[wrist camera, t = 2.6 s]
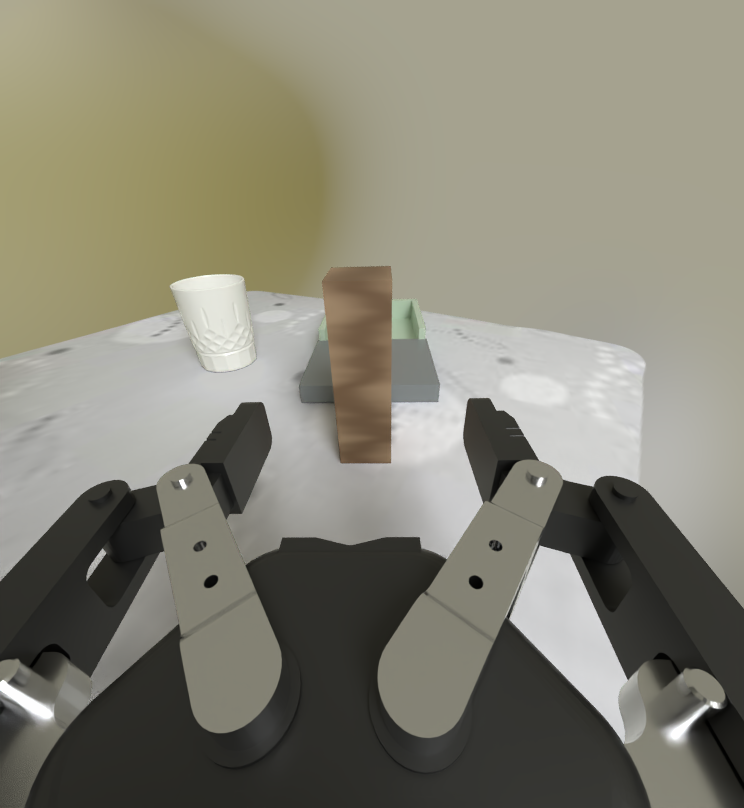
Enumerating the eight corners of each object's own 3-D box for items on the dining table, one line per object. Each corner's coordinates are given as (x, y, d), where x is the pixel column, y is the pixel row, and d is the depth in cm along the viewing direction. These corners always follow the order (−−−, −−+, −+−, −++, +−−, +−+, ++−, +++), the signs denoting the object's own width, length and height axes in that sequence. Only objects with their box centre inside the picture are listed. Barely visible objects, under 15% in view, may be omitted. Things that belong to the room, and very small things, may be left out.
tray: (321, 354, 44) (318, 329, 42) (333, 321, 55) (331, 300, 53) (424, 353, 44) (425, 327, 42) (415, 320, 55) (416, 298, 53)
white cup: (188, 361, 44) (160, 282, 38) (244, 344, 48) (226, 271, 43) (212, 381, 39) (183, 294, 33) (272, 360, 43) (256, 280, 38)
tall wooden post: (340, 463, 27) (322, 281, 19) (345, 432, 30) (331, 267, 22) (390, 463, 26) (392, 279, 19) (389, 432, 30) (390, 266, 22)
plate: (301, 402, 34) (298, 385, 33) (320, 354, 44) (318, 340, 43) (438, 401, 34) (439, 384, 33) (425, 352, 44) (426, 338, 43)
